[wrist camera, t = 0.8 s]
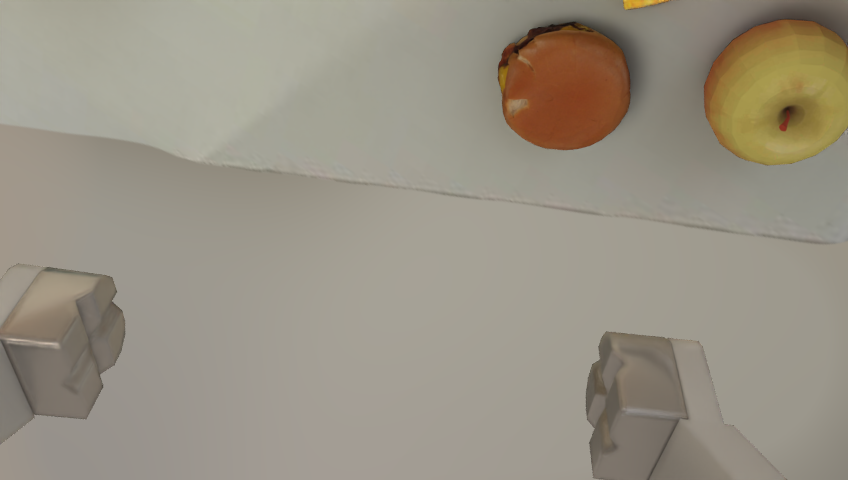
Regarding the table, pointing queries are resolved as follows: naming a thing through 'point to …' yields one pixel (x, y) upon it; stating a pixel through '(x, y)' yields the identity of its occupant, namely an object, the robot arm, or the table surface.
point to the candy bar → (640, 3)
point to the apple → (779, 92)
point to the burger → (564, 86)
